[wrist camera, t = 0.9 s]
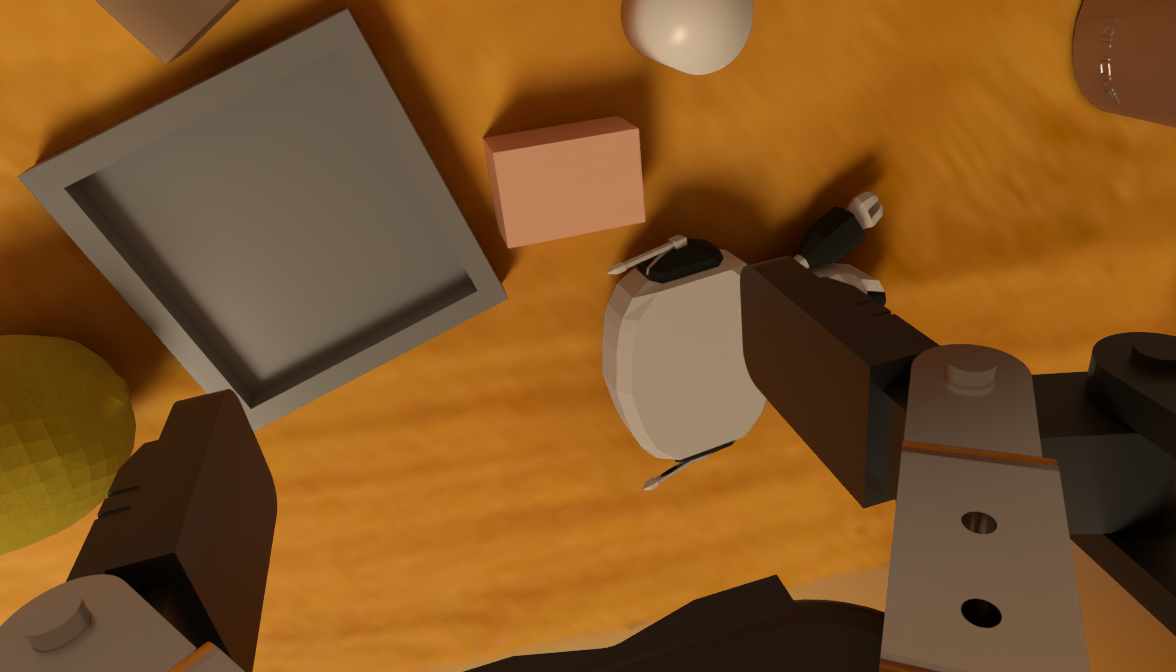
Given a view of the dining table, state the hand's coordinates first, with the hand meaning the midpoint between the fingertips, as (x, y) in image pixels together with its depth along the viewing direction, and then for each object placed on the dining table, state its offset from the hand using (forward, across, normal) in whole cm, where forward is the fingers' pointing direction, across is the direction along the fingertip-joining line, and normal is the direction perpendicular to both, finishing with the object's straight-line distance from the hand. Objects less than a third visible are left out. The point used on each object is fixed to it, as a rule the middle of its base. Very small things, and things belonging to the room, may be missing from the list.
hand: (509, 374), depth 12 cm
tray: (+22, +6, +4) cm, 23 cm away
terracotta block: (+22, -5, +4) cm, 23 cm away
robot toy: (+23, -13, +13) cm, 29 cm away
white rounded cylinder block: (+22, -11, -2) cm, 25 cm away
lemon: (+22, +18, +8) cm, 30 cm away
